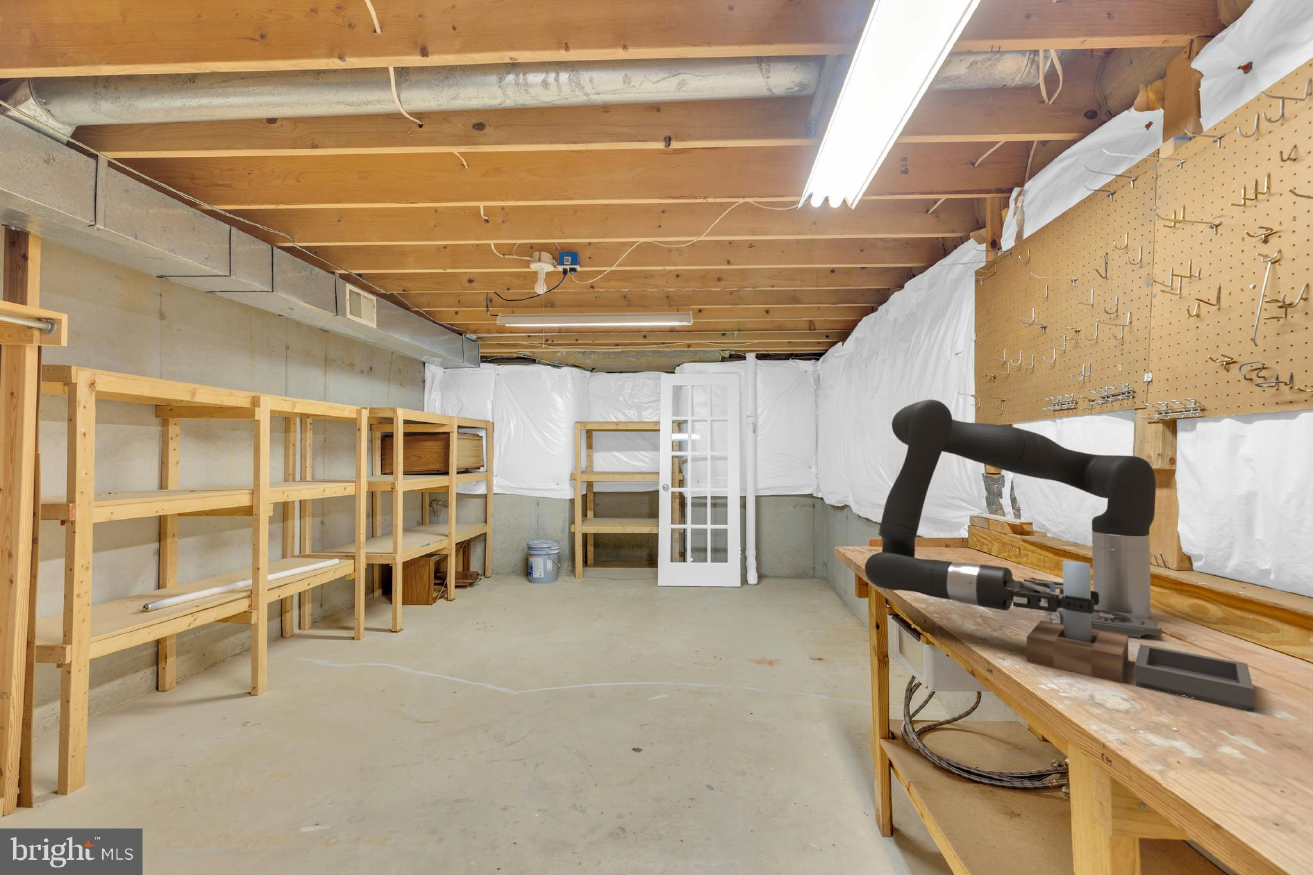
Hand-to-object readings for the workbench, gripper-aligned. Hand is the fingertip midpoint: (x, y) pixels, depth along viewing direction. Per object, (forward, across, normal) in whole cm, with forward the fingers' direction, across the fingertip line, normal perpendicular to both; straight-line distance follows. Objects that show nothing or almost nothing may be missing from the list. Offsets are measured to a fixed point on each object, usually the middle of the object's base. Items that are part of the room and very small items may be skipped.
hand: (1095, 602), depth 90 cm
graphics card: (-1, +23, +11) cm, 25 cm away
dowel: (-2, 0, +10) cm, 10 cm away
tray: (+11, 0, +10) cm, 15 cm away
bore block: (-2, 0, +10) cm, 10 cm away
